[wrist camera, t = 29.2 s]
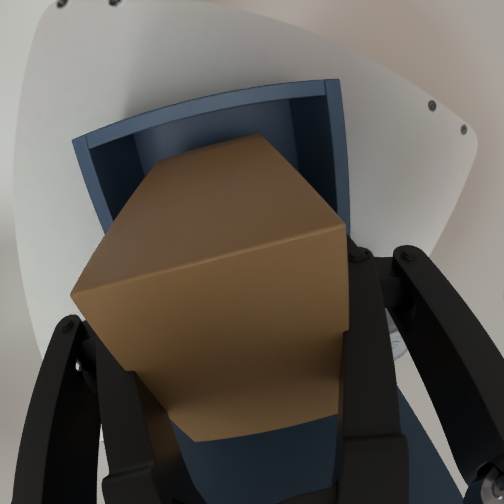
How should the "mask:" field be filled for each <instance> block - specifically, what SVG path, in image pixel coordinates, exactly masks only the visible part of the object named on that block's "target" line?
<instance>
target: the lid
mask: <svg viewBox="0 0 504 504" xmlns="http://www.w3.org/2000/svg"><path fill="white" fill-rule="evenodd" d="M397 391H398V402H399V413H400V426H401V431H402V433H403V434H404V435H406V438H407V441H408V448H409V504H463V497H462V495H461V493H460V491H459V489H458V488H457V486H456V484H455V482H454V480H453V478H452V477H451V475H450V473H449V471H448V469H447V468H446V466H445V464H444V462H443V461H442V459H441V457H440V456H439V454H438V452H437V450H436V448H435V447H434V445H433V443H432V442H431V440H430V438H429V436H428V435H427V433H426V431H425V430H424V428H423V426H422V425H421V423H420V421H419V420H418V418H417V416H416V415H415V414H414V412H413V410H412V408H411V407H410V405H409V404H408V402H407V400H406V399H405V397H404V396H403V394H402V392H401V391H400V389H399V388H398V386H397ZM170 421H171V424H172V427H173V430H174V433H175V436H176V439H177V442H178V445H179V448H180V450H181V453H182V456H183V459H184V461H185V464H186V466H187V469H188V471H189V474H190V476H191V479H192V481H193V484H194V486H195V487H196V489H197V490H198V491H199V493H200V494H201V495H202V497H203V498H204V500H205V502H206V504H276V503H279V502H281V501H284V500H286V499H288V498H291V497H293V496H295V495H299V494H304V493H309V492H313V491H317V490H321V489H325V488H329V487H331V485H332V477H333V470H334V462H335V451H336V437H337V421H338V413H337V414H334V415H331V416H327V417H324V418H320V419H317V420H313V421H309V422H306V423H302V424H298V425H294V426H290V427H285V428H281V429H276V430H272V431H267V432H262V433H256V434H251V435H245V436H239V437H232V438H226V439H218V440H210V441H201V442H194V441H193V440H192V439H191V438H190V437H189V436H188V435H187V434H186V433H185V432H183V431H182V430H181V429H180V428H179V427H178V426H177V425H176V424H175V423H174V422H173V421H172V420H171V419H170Z"/></svg>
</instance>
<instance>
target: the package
mask: <svg viewBox="0 0 504 504" xmlns="http://www.w3.org/2000/svg"><path fill="white" fill-rule="evenodd" d="M70 296H71V298H72V300H73V301H74V303H75V304H76V306H77V307H78V309H79V310H80V312H81V313H82V315H83V316H84V317H85V319H86V320H87V322H88V323H89V325H90V326H91V327H92V329H93V330H94V331H95V333H96V334H97V335H98V337H99V338H100V339H101V341H102V342H103V343H104V345H105V346H106V347H107V349H108V350H109V351H110V352H111V354H112V355H113V356H114V357H115V359H116V360H117V361H118V362H119V364H120V365H121V366H122V367H123V368H124V370H125V371H135V372H136V374H137V375H138V376H139V378H140V379H141V380H142V381H143V383H144V384H145V385H146V387H147V388H148V389H149V390H150V392H151V393H152V394H153V395H154V397H155V398H156V399H157V400H158V401H159V403H160V404H161V405H162V406H163V407H164V409H165V410H166V411H167V412H168V415H169V418H170V419H171V420H172V421H173V422H174V423H175V424H176V425H177V426H178V427H179V428H180V429H181V430H182V431H183V432H185V433H186V434H187V435H188V436H189V437H190V438H191V439H192V440H193V441H194V442H201V441H210V440H218V439H226V438H232V437H239V436H245V435H251V434H256V433H262V432H267V431H272V430H276V429H281V428H285V427H290V426H294V425H298V424H302V423H306V422H309V421H313V420H317V419H320V418H324V417H327V416H331V415H334V414H337V413H338V397H339V376H340V365H341V354H342V340H343V332H344V331H347V330H349V281H348V255H347V237H346V225H345V223H344V222H343V221H342V219H341V218H340V217H339V216H338V215H337V214H336V213H335V211H334V210H333V209H332V208H331V207H330V206H329V205H328V204H327V203H326V201H325V200H324V199H323V198H322V197H321V196H320V195H319V194H318V193H317V192H316V190H315V189H314V188H313V187H312V186H311V185H310V184H309V183H308V182H307V181H306V180H305V179H304V178H303V177H302V176H301V175H300V173H299V172H298V171H297V170H296V169H295V168H294V167H293V166H292V165H291V164H290V163H289V162H288V161H287V160H286V159H285V158H284V157H283V156H282V155H281V154H280V153H279V152H278V151H277V150H276V149H275V148H274V147H273V146H272V145H271V144H270V143H269V142H268V141H267V140H266V139H265V138H264V137H263V136H262V135H261V134H260V133H255V134H251V135H247V136H243V137H238V138H234V139H231V140H227V141H223V142H219V143H215V144H212V145H208V146H205V147H201V148H198V149H194V150H191V151H187V152H184V153H181V154H178V155H174V156H171V157H168V158H165V159H162V160H159V161H157V163H156V164H155V165H154V166H153V168H152V169H151V170H150V172H149V173H148V174H147V176H146V177H145V178H144V179H143V181H142V182H141V184H140V185H139V186H138V188H137V189H136V190H135V192H134V193H133V194H132V196H131V197H130V199H129V200H128V201H127V203H126V204H125V206H124V207H123V209H122V210H121V212H120V213H119V214H118V216H117V217H116V219H115V220H114V222H113V223H112V225H111V226H110V228H109V230H108V231H107V233H106V234H105V236H104V237H103V239H102V240H101V242H100V244H99V245H98V247H97V248H96V250H95V252H94V253H93V255H92V257H91V258H90V260H89V262H88V263H87V265H86V267H85V268H84V270H83V272H82V274H81V275H80V277H79V279H78V281H77V283H76V284H75V286H74V288H73V290H72V292H71V294H70Z"/></svg>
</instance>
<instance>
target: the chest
mask: <svg viewBox="0 0 504 504" xmlns="http://www.w3.org/2000/svg"><path fill="white" fill-rule="evenodd" d="M255 133H260V134H261V135H262V136H263V137H264V138H265V139H266V140H267V141H268V142H269V143H270V144H271V145H272V146H273V147H274V148H275V149H276V150H277V151H278V152H279V153H280V154H281V155H282V156H283V157H284V158H285V159H286V160H287V161H288V162H289V163H290V164H291V165H292V166H293V167H294V168H295V169H296V170H297V171H298V172H299V173H300V175H301V176H302V177H303V178H304V179H305V180H306V181H307V182H308V183H309V184H310V185H311V186H312V187H313V188H314V189H315V190H316V192H317V193H318V194H319V195H320V196H321V197H322V198H323V199H324V200H325V201H326V203H327V204H328V205H329V206H330V207H331V208H332V209H333V210H334V211H335V213H336V214H337V215H338V216H339V217H340V218H341V219H342V221H343V222H344V223H345V225H346V233H347V234H348V235H349V237H350V195H349V173H348V157H347V144H346V132H345V122H344V112H343V104H342V95H341V88H340V80H339V79H323V80H310V81H298V82H289V83H280V84H272V85H265V86H258V87H252V88H246V89H240V90H234V91H229V92H224V93H219V94H214V95H210V96H205V97H201V98H197V99H192V100H188V101H184V102H180V103H177V104H173V105H169V106H166V107H162V108H159V109H155V110H152V111H149V112H145V113H142V114H139V115H136V116H133V117H130V118H127V119H124V120H121V121H119V122H116V123H113V124H110V125H108V126H105V127H102V128H100V129H97V130H95V131H92V132H90V133H87V134H85V135H82V136H80V137H78V138H75V139H73V140H72V143H73V146H74V150H75V153H76V156H77V159H78V163H79V166H80V169H81V172H82V175H83V178H84V181H85V183H86V186H87V189H88V192H89V195H90V197H91V200H92V203H93V205H94V208H95V211H96V213H97V216H98V218H99V221H100V223H101V226H102V228H103V231H104V233H105V234H106V233H107V231H108V230H109V228H110V226H111V225H112V223H113V222H114V220H115V219H116V217H117V216H118V214H119V213H120V212H121V210H122V209H123V207H124V206H125V204H126V203H127V201H128V200H129V199H130V197H131V196H132V194H133V193H134V192H135V190H136V189H137V188H138V186H139V185H140V184H141V182H142V181H143V179H144V178H145V177H146V176H147V174H148V173H149V172H150V170H151V169H152V168H153V166H154V165H155V164H156V163H157V161H159V160H162V159H165V158H168V157H171V156H174V155H178V154H181V153H184V152H187V151H191V150H194V149H198V148H201V147H205V146H208V145H212V144H215V143H219V142H223V141H227V140H231V139H234V138H238V137H243V136H247V135H251V134H255Z"/></svg>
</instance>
